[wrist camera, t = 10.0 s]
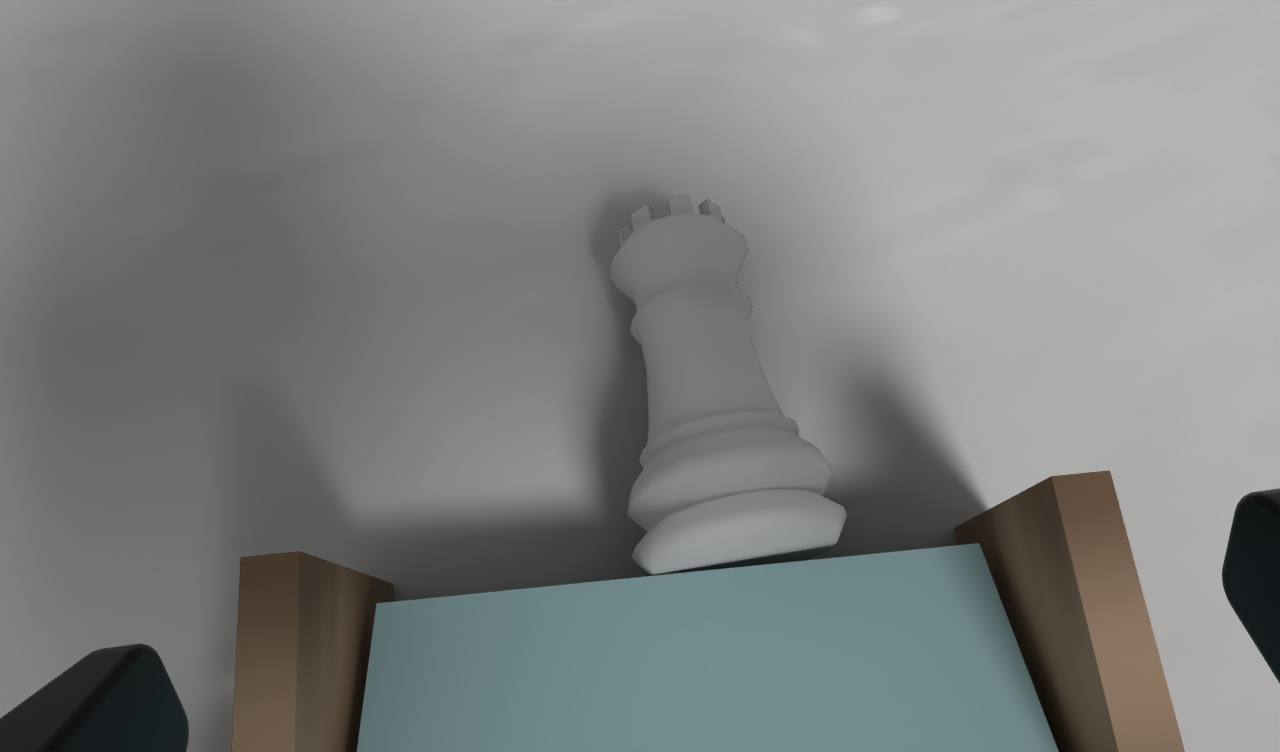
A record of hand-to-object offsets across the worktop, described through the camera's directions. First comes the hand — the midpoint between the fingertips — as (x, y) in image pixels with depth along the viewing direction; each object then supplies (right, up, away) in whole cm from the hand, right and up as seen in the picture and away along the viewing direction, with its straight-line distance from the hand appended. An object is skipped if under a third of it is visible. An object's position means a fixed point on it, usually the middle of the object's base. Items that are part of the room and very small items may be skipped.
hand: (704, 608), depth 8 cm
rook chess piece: (+2, -2, +11) cm, 11 cm away
